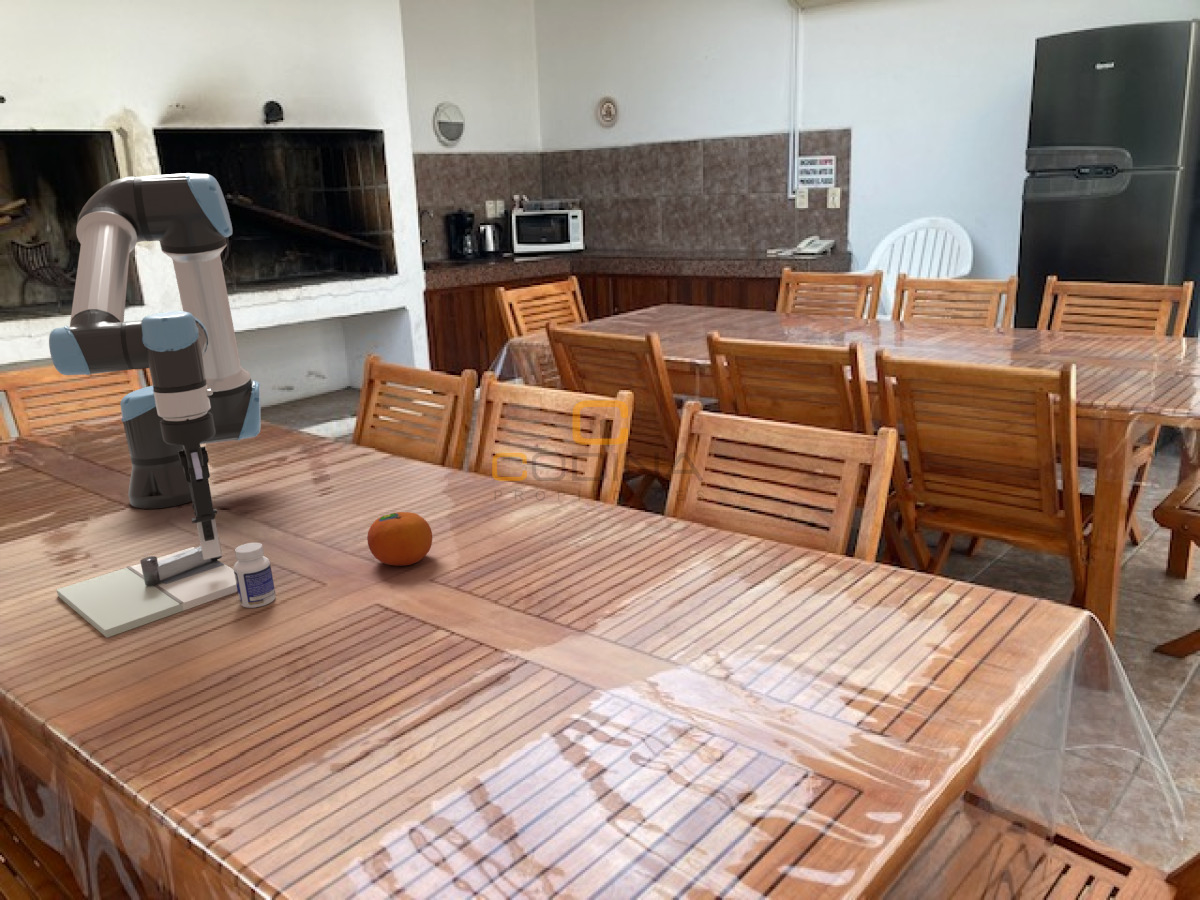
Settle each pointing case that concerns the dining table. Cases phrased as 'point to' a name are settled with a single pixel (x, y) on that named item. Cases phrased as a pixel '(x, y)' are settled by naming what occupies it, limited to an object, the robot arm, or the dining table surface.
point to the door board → (145, 595)
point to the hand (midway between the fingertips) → (212, 556)
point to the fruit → (400, 538)
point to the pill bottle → (253, 576)
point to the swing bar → (172, 565)
